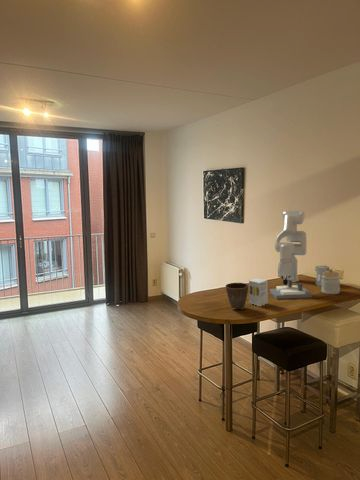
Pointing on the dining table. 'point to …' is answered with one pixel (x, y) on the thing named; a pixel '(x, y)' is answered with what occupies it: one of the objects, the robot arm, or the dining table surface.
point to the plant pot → (237, 294)
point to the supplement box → (258, 292)
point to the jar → (330, 282)
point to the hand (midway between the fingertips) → (285, 284)
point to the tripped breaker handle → (289, 283)
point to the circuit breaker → (320, 274)
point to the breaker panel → (279, 296)
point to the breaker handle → (299, 286)
